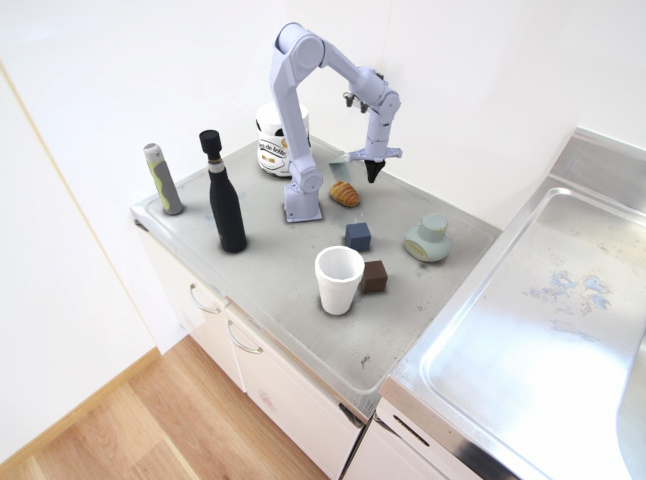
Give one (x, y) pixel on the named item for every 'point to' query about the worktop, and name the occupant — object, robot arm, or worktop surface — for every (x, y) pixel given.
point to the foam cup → (338, 277)
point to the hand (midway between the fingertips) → (370, 181)
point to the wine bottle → (223, 196)
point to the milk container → (275, 140)
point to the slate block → (358, 236)
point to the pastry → (344, 194)
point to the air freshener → (429, 238)
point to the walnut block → (373, 277)
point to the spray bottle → (162, 178)
